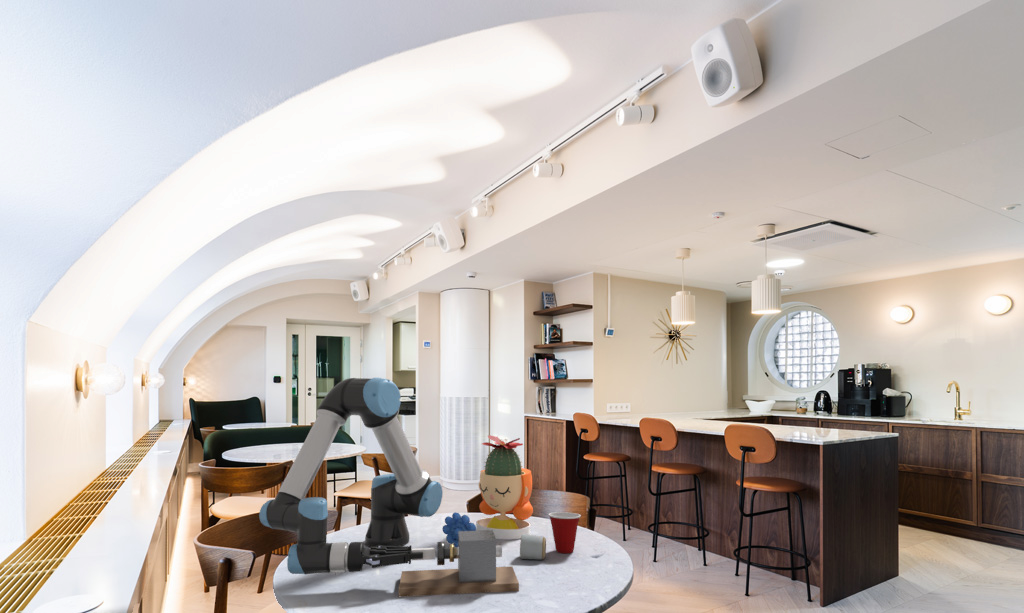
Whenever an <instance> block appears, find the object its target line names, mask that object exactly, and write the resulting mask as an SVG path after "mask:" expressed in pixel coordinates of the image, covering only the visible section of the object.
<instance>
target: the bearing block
mask: <svg viewBox="0 0 1024 613" xmlns="http://www.w3.org/2000/svg"><path fill="white" fill-rule="evenodd" d="M496 545H497V539H496V538H495V535H494V532H493V530H483V531H458V547H459V559H457V569H458V576H459V583H477V582H496V567H497V557H496Z"/></svg>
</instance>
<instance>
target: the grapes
mask: <svg viewBox="0 0 1024 613" xmlns="http://www.w3.org/2000/svg"><path fill="white" fill-rule="evenodd" d="M470 520H471V519H470V517H469V516H468V515H467V514H463V515H462V516H461V514H460V512H456V511H455V512H453V513H452V515H451V516H449V515H448V516H446V517H445V518H444V523H445V524H444V525H443V526H442V533H444V535H446V537H445V540H446V542H447V543H448V544H449V545H450V544H454V547H458V531H476V524H475V523H474V522H471V521H470Z"/></svg>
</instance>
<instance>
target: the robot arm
mask: <svg viewBox="0 0 1024 613" xmlns="http://www.w3.org/2000/svg"><path fill="white" fill-rule="evenodd" d="M400 399H401V393H400V390H399V387H398V386H397V385H396V383H395V382H393V380H390V379H387V378H382V377H372V378H361V377H360V378H359V377H358V378H356V377H351V378H350V377H349V378H345V379H343V380H341V381H340V382H338V383H337V384H336V385H335V386H333V387H332V388H331V390H329V391H328V393H327V394H326V395H325V396H324V398H323V399H322V401H321V402H320V404H319V406H318V408H317V409H316V416H317V417H316V419H315V421H314V422H313V424H312V426H311V428H310V430H309V432H308V434H307V436H306V438H305V440H304V442H303V443H302V446H301V448H300V449H299V451H298V453H297V456H296V458H295V459H294V461H293V463H292V465H291V466H290V469H289V471H288V473H287V475H286V476H285V478H284V480H283V482H282V484H281V486H280V487H279V490H278V492H277V494H276V496H275V497H274V498H273V499H268V500H267V501H266V502H264V504H262V505H261V507H260V509H259V514H258V515H259V516H258V517H259V521H260V523H261V524H262V525H263V526H265V527H268V528H270V529H272V530H281V531H286V532H293V533H297V542H296V543H294V544H292V545H290V547H289V550H288V553H287V560H286V561H287V562H286V564H287V565H286V566H287V570H288V573H290V574H292V575H312V574H315V575H316V574H327V573H328V574H329V573H331V574H332V573H335V575H339V573H345V572H347V571H348V572H349V573H356V572H357V573H358V572H362V570H363V568H364V565H365V566H366V565H368V566H369V567H370V566H371V568H373V569H376V568H379V567H386V566H387V567H388V566H394V565H402V564H409V565H411V564H412V561H425V560H427V561H429V560H436V547H423V548H422V547H419V548H418V547H417V548H413V547H412V545H408V546H404V545H406V544H409V542H410V531H409V528H408V526H407V521H406V518H405V515H409V516H415V517H420V518H423V517H426V518H429V517H432V516H434V515H435V514H436V513H437V512H438V510H439V509H440V506H441V504H442V500H443V487H442V484H441V483H440V482H438V481H436V480H432V479H431V478H430V476H429V473H428V471H427V470H426V469H423V468H421V466H420V464H419V462H418V460H417V457H416V455H415V454H414V451H413V449H412V447H411V444H410V442H409V440H408V439H407V438H408V437H407V436H406V434H405V431H404V429H403V427H402V424H401V422H400V421H399V418H398V415H399V412H400V406H401V402H402V401H401V400H400ZM351 416H358V417H360V419H361V421H362V422H363V425H364V427H366V428H367V429H371V430H372V432H373V434H374V436H375V439H376V440H377V443H378V444H379V447H380V448H381V450H382V453H383V455H384V457H385V459H386V461H387V463H388V465H389V467H390V470H391V472H392V473H386V474H381V475H377V476H375V477H373V478H372V481H371V488H370V493H371V494H370V498H371V499H370V521H369V523H368V524H369V525H368V527H367V531H366V533H365V538H364V542H363V541H352V542H350V543H348V542H347V541H346V542H342V541H341V542H327V534H328V532H327V531H328V517H329V512H328V501H327V499H326V498H324V497H321V496H320V497H319V496H314V497H313V496H312V497H307V494H308V492H309V489H310V488H311V486H312V484H313V482H314V480H315V478H316V476H317V474H318V472H319V470H320V468H321V466H322V464H323V461H324V460H325V458H326V455H327V454H328V451H329V450H330V447H331V445H332V443H333V442H334V440H335V437H336V435H337V433H338V431H339V430H340V427H343V426H344V425H346V423H347V420H348V419H349V417H351ZM365 545H366V546H367V547H369V548H365Z"/></svg>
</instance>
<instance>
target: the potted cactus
mask: <svg viewBox="0 0 1024 613" xmlns="http://www.w3.org/2000/svg"><path fill="white" fill-rule="evenodd" d="M487 438H488V439H489V440H490V441H493V442H494V444H493V443H490V442H487V441H486V442H482V443H481V445H483V446H488V447H492V448H491V450H489V451H488V453H487V457H486V458H485V461H484V464H485V465H483V468H484V469H483V470H480V474H479V475H480V476H479V481H478V489H479V491H480V495H481V497H482V501H481V502H480V503H479V506H478V507H479V511H480V512H481V513H482V514H484V515H485V516H492V515H495V516H493V517H484V518H479V519H478V520H476V523H475V526H476V531H483V530H493V532H494V535H495V538H496V540H519V539H520V540H521V536H522V534H529V535H531V523H530V522H528V521H527V520H528V519H530V518H531V517H532V515H533V513H534V508H533V505H532V504H531V502H530V498H531V495H532V491H533V475H532V471H531V469H528V468H524V465H522V463H523V460H522V461H521V457H519V456H520V454H518V450H516V449H517V447H520V446H523V445H524V443H520V442H517V441H519V440H520V439H521V438H519V437H518V438H515V439H513V440H511V441H508V439H506V438H505V439H504V440H502V439H500V438H499V437H498V436H495V435H487ZM497 513H499V514H500V515H499V514H498V515H496V514H497ZM509 514H513V517H511V516H510V517H509V516H508V515H509Z"/></svg>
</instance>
